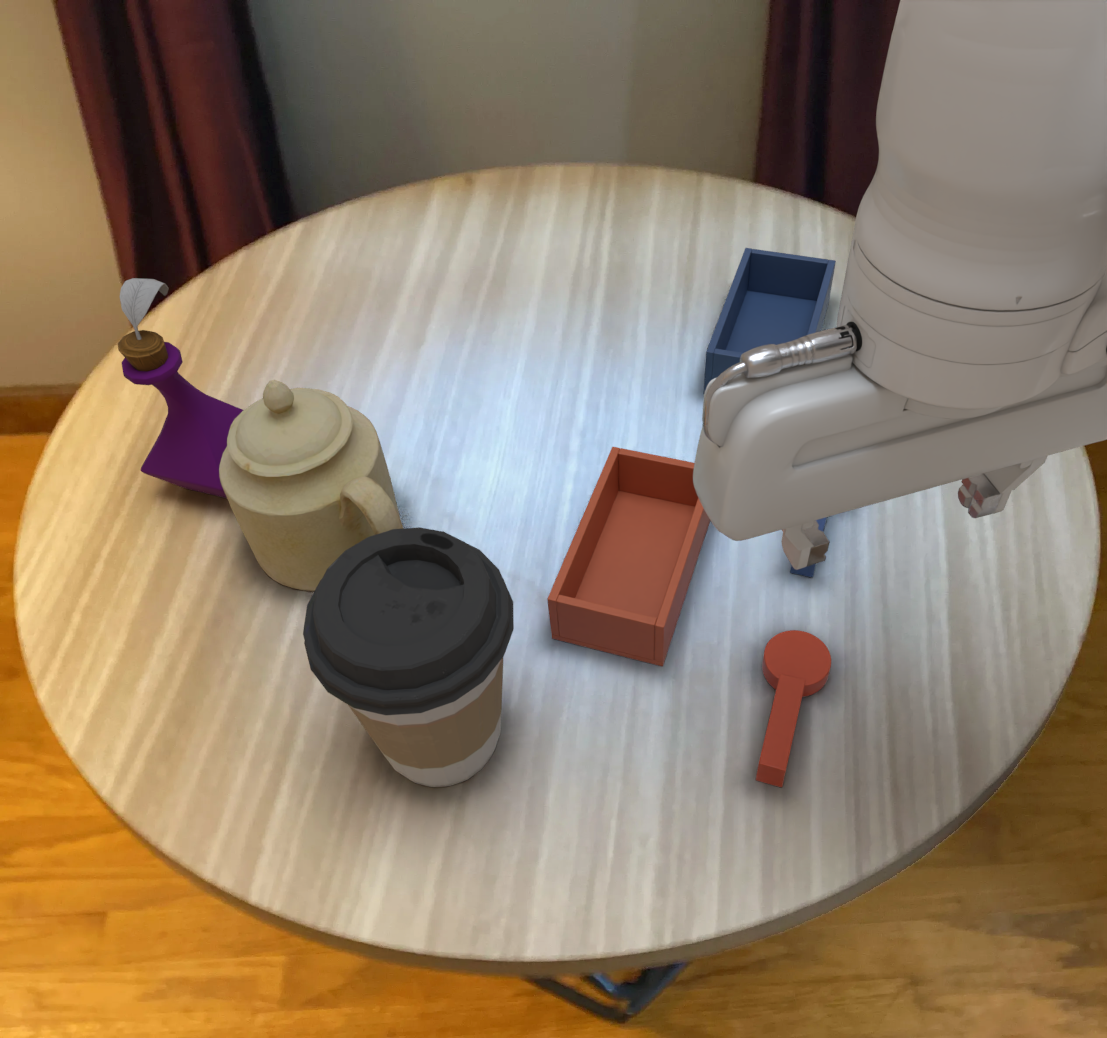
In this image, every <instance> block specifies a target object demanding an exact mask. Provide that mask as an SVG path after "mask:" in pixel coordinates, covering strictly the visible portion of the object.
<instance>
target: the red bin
mask: <svg viewBox="0 0 1107 1038" xmlns="http://www.w3.org/2000/svg"><path fill="white" fill-rule="evenodd" d="M694 463H695V462H694V461H689V460H687V461H686V460H683V459H678V458H673V457H667V456H662V455H657V454H652V453H647V452H643V451H638V450H632V449H627V448H623V447H618V446H611V448H610V452H609V453H608V455H607V458H606V461H605V462H604V465H603V467H602V470H601V472H600V475H599V477H598V479H597V482H596V484H595V486H594V489H593V490H592V493H591V495H590V497H589V500H588V502H587V505H586V507H585V510H584V512H583V514H582V516H581V519H580V521H579V524H578V526H577V528H576V530H575V533H574V536H573V538H572V540H571V543H570V545H569V547H568V550H567V552H566V554H565V556H564V559H563V561H562V564H561V565H560V568H559V571H558V573H557V574H556V577H555V580H554V582H553V584H552V587H551V590H550V591H549V594H548V595H547V599H546V600H547V607H548V608H547V609H548V616H549V624H550V633H551V639H552V640H557V641H561V642H564V643H568V644H572V645H575V646H579V647H584V648H588V649H592V650H596V651H599V652H604V653H607V654H611V655H616V656H619V657H623V658H626V659H627V658H628V659H632V660H635V661H640V662H643V663H647V664H651V665H655V666H659V667H664V665H665V661H666V659H667V655H668V652H669V649H670V646H671V643H672V640H673V637H674V633H675V631H676V628H677V624H678V622H679V618H680V616H681V612H682V609H683V606H684V603H685V601H686V598H687V597H686V596H687V593H688V591H689V587H690V584H691V582H692V579H693V576H694V573H695V569H696V567H697V566H696V565H697V562H698V559H699V557H700V554H701V550H702V548H703V545H704V541H705V538H706V535H707V532H708V530H709V527H710V526H709V525H710V523H711V521H710V519H709V517H708V516H707V514H706V512H705V510H704V508H703V506H702V504H701V502H700V500H699V498H698V496H697V493H696V491H695V488H694V484H693V469H694Z"/></svg>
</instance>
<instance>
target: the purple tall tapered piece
mask: <svg viewBox="0 0 1107 1038" xmlns="http://www.w3.org/2000/svg"><path fill="white" fill-rule="evenodd" d="M169 288H170V287H168V285H167V283H165V282H162V281H160V280H157V279H154V278H137V277H135V278H134V277H132V278H130V279H127V280H125V281H124V282H123V284H122V285H121V287H120V291H119V301H120V307H121V311H122V312H123V314H124V315H125V316H126V318H127V320H128V321H129V323H130V324H131V325H132V328H133V330H134V331H132V332H129V333H127V334H125V335H123V336H122V337H121V339H119V341H118V342H117V348H118V352H119V353H120V354H121V355H122V356H123V357H124V358H123V360H122V361H121V369H122V375H123V377H124V378H125V379H126V380H128V381H129V382H131V383H132V384H134V385H137V386H153V387H154V389H156V390H157V391H158V392H159V393H160V394H161V395H162V397H163V398H164V400H165V403H166V406H167V415H166V417H165V419H164V422H163V425H162V427H161V430H160V432H159V435H158V436H157V438H156V440H155V442H154V444H153V445H152V447H151V449H150V450H149V452H148V454H147V456H146V458H145V460H144V461H143V463H142V465H141V467H140V471H141V472H142V473H143V474H144V475H147V476H150V477H153V478H155V479H159V480H161V481H164V482H166V483H169V484H171V485H175V486H177V487H179V488H183V489H186V490H190V491H194V492H197V493H202V494H206V495H211V496H215V497H219V498H224V499H227V497H226V494H225V492H224V490H223V487H222V485H221V481H220V477H219V466H220V462H221V458H222V455H223V452H224V451H225V449H226V447H227V438H228V434H229V430H230V426H231V424H232V423H233V421H234V419H235V418H236V417H237V416H238V415H239V414H240V413H241V412H242V411H243V410H244V409H243V408H240V407H238V406H235V405H232V404H230V403H228V402H225V401H223V400H221V399H218V398H217V397H214V396H211V395H209V394H206V393H204V392H203V391H202V390H199V389H198V388H197V387H196V386H194V385H193V384H192V383H190V381H188V380H187V379H186V378H184V376H183V375H181V374H180V373H179V369H180V368H181V366H182V364H183V358H182V357H183V356H182V353H181V350H180V349H179V348H178V347H177V346H175V345H173V344H172V343H171V342H169V341H165V340H164V337H163V336H162V335H160V334H159V333H158V332H156V331H152V330H146V329H140V330H139V325H140V323H141V322H142V321H143V319H144V318H145V317H146V315H147V313H148V311H149V309H150V307H151V305H152V303H153V301H154V299H155V297H156V296H157V294H158V292H160V294H162V295H163V296H164V297H166V296H167V295H168V292H169Z"/></svg>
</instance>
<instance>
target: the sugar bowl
mask: <svg viewBox="0 0 1107 1038" xmlns="http://www.w3.org/2000/svg"><path fill="white" fill-rule="evenodd" d="M263 389H264V390H263V391H262V398H260V399H258V400H257V401H255V402H254V403H252V404H250V405H249V406H247V407H245V408H244V409H243V411H242V412H241V413H240V414H239V415H238V416H237V417H236V418H235V419H234V421H233V423H232V424H231V426H230V430H229V434H228V438H227V447H226V449H225V451H224V452H223V455H222V458H221V462H220V466H219V477H220V481H221V485H222V487H223V490H224V492H225V494H226V497H227V498H226V499H227V501H228V503H229V506H230V509H231V511H232V513H233V515H234V517H235V519H236V521H237V523H238V526H239V528H240V529H241V531H242V533H243V535H244V536H243V537H245V540H246V541H247V544H248V546H249V547H250V549H251V552H252V554H253V555H254V557H255V560H256V561H257V563H258V565H259V566H260V568H261V569H262V570H263V571H264V573H265V574H266V575H267V576H268V577H269V578H271V579H272V581H275V582H277V583H278V584H280V585H283V586H285V587H287V588H291V589H295V590H300V591H311V592H314V591H315V589H316V587H317V586H318V584H319V582H320V580H321V579H322V578H323V576H324V574H325V572H326V570H327V569H328V568H329V567H330V566H331V564H332V563H333V562H334V561H335V560H336V559H337V558H338V557H339V556H340V555H341V554H342V553H343V552H344V551H345V550H347V549H349V548H351V547H352V546H354V545H356V544H357V543H359V542H361V541H362V540H364V539H366V538H367V537H370V536H373V535H376V534H380V533H383V532H386V531H389V530H392V529H403V528H404V525H403V523H402V520H401V516H400V511H399V508H398V503H397V498H396V495H395V491H394V486H393V483H392V478H391V475H390V472H389V471H390V470H389V467H388V464H387V461H386V457H385V455H384V451H383V448H382V444H381V441H380V438H379V435H378V431H377V429H376V428H375V426H374V424H373V423H372V422H371V420H370V419H369V417H367V416H366V415H365V414H364V413H362V412H361V411H359V410H357V409H356V408H354V407H352V406H349V405H347V403H346V402H345V401H344V400H343V399H341V397H339V396H338V395H336V394H335V393H332V392H330V391H325V390H322V389H319V388H310V387H294V388H290V387H289V386H288V385H287V384H286V383H284V382H282V381H279V380H277V379H272V380H269V381H268V382H267V384H266V385H265V386H264V388H263Z"/></svg>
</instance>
